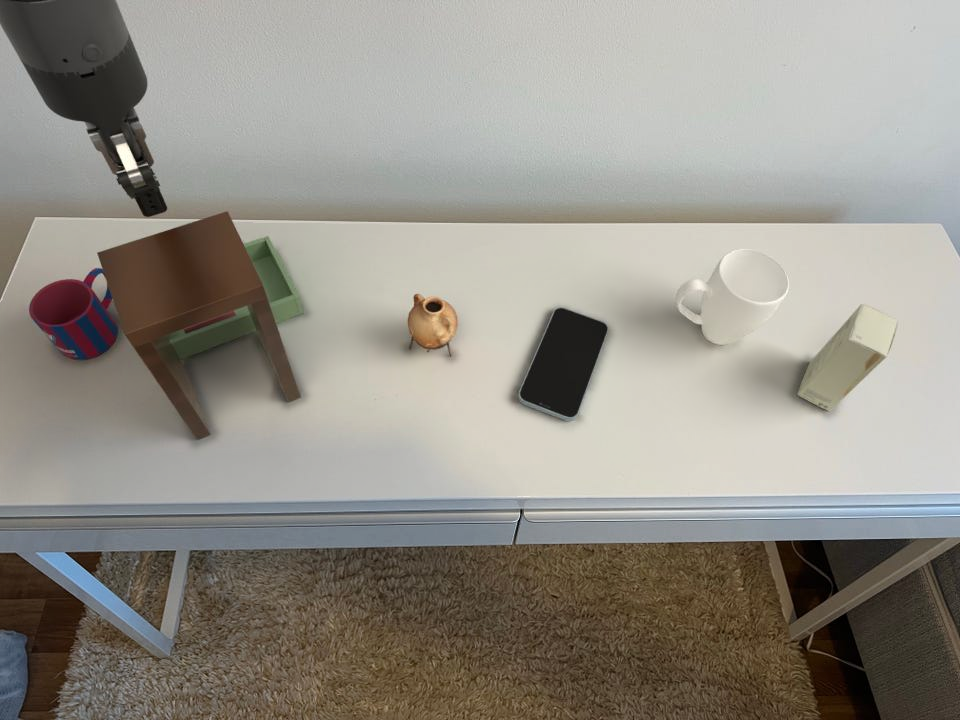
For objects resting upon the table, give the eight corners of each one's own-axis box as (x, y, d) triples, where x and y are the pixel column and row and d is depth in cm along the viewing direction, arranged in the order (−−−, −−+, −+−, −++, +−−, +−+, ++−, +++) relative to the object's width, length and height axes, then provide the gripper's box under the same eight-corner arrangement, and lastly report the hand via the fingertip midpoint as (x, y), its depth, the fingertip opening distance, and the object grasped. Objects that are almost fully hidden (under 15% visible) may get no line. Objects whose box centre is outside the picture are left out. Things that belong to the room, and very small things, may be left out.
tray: (172, 362, 79) (162, 346, 76) (148, 296, 84) (138, 279, 81) (303, 313, 84) (299, 296, 81) (273, 253, 89) (268, 235, 86)
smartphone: (611, 324, 85) (576, 421, 77) (609, 328, 86) (574, 424, 78) (556, 304, 86) (515, 398, 78) (554, 309, 87) (514, 402, 79)
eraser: (186, 331, 81) (191, 343, 80) (178, 317, 79) (183, 329, 78) (234, 313, 83) (240, 325, 82) (228, 298, 80) (234, 310, 80)
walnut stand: (197, 440, 74) (124, 334, 57) (172, 371, 79) (96, 252, 61) (301, 397, 78) (263, 284, 60) (271, 333, 82) (227, 210, 65)
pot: (410, 323, 85) (405, 363, 81) (410, 278, 79) (404, 319, 75) (457, 327, 85) (454, 367, 81) (461, 283, 79) (457, 324, 75)
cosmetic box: (829, 413, 81) (887, 360, 71) (795, 395, 82) (847, 340, 72) (843, 375, 84) (901, 318, 74) (810, 358, 85) (863, 300, 75)
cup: (45, 345, 79) (14, 311, 74) (106, 287, 84) (83, 251, 79) (89, 369, 78) (61, 336, 72) (149, 308, 83) (128, 273, 77)
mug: (740, 305, 89) (778, 247, 80) (757, 358, 85) (799, 304, 75) (652, 305, 88) (679, 247, 79) (665, 359, 84) (695, 304, 74)
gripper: (-2, -2, 50) (96, 176, 65) (32, 105, 44) (131, 273, 59) (103, -23, 52) (175, 153, 67) (149, 76, 46) (216, 245, 61)
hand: (154, 209), depth 63 cm, fingers closed
